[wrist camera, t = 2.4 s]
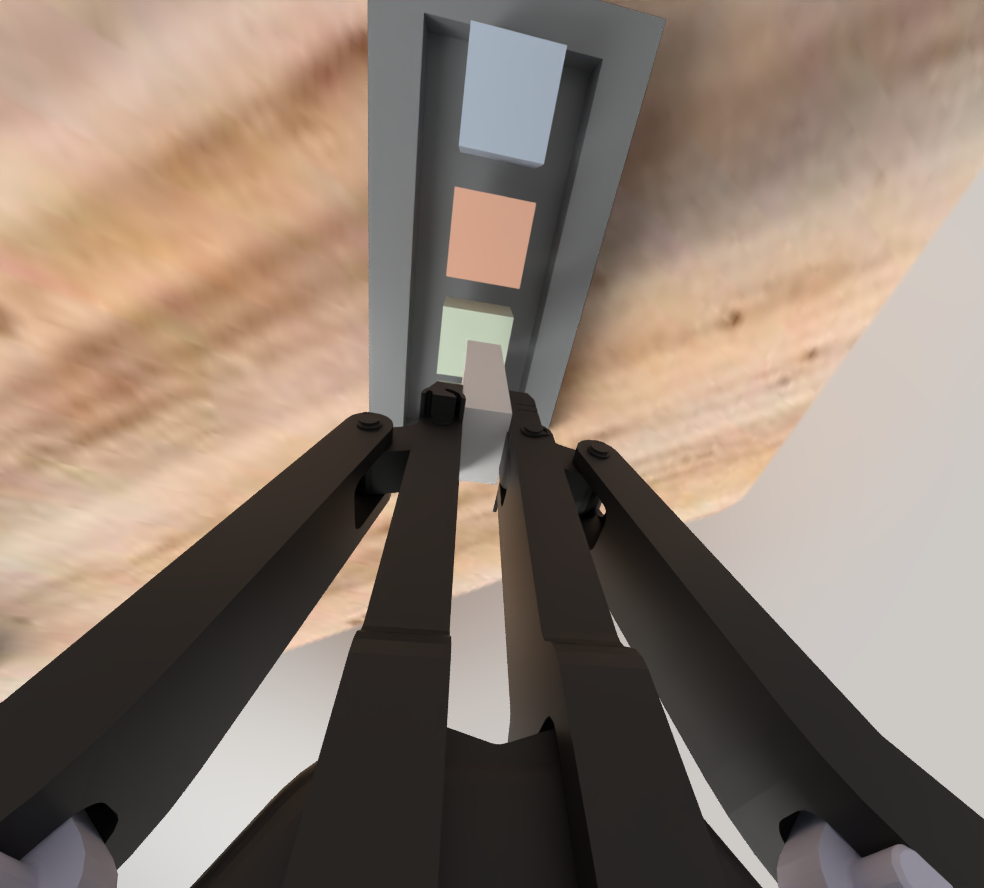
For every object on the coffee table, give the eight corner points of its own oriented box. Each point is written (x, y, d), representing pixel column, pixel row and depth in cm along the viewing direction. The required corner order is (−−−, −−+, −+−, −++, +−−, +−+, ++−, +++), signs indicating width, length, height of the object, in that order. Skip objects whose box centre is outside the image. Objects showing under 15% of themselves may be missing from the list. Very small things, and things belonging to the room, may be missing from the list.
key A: (460, 152, 17) (458, 145, 15) (471, 43, 16) (470, 20, 14) (535, 168, 18) (544, 164, 16) (555, 65, 16) (567, 45, 14)
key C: (439, 358, 23) (436, 373, 21) (446, 296, 21) (443, 306, 19) (498, 366, 23) (501, 382, 21) (509, 306, 21) (513, 317, 19)
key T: (448, 268, 20) (446, 276, 18) (456, 188, 18) (454, 186, 16) (514, 280, 21) (519, 288, 18) (529, 202, 19) (536, 203, 17)
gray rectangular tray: (381, 419, 29) (369, 447, 26) (387, -13, 17) (367, -65, 14) (530, 438, 31) (537, 466, 28) (631, 52, 19) (666, 19, 16)
